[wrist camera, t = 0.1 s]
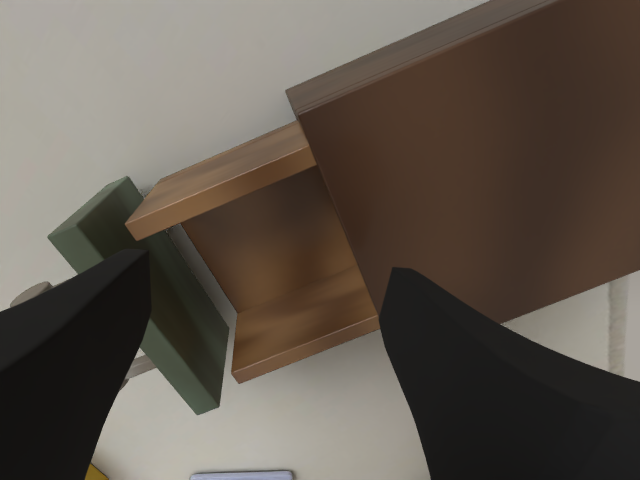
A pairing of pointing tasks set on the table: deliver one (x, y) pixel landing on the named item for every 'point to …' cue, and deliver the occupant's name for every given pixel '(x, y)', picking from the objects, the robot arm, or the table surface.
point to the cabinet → (489, 152)
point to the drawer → (230, 263)
